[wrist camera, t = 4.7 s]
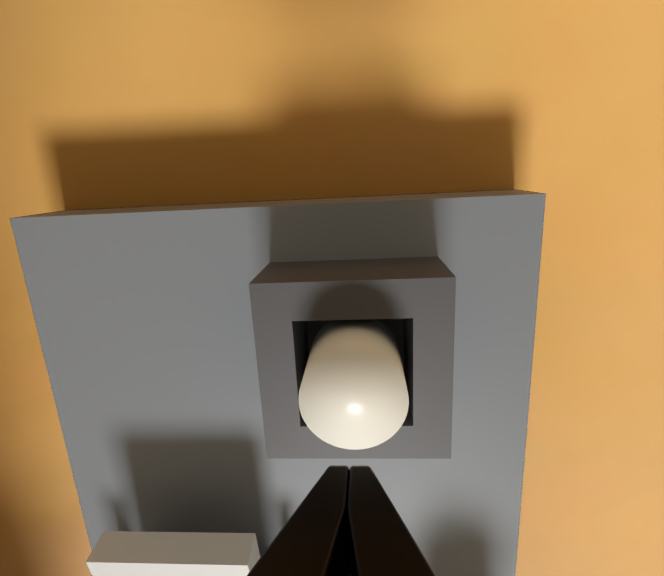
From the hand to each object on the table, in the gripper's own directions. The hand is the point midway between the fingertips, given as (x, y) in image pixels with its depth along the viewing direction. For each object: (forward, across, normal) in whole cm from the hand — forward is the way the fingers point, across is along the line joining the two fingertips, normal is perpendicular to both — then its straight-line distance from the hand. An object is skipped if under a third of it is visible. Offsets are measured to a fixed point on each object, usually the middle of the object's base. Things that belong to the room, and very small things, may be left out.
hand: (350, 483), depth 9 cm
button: (+6, 0, 0) cm, 6 cm away
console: (+11, +3, +7) cm, 13 cm away
